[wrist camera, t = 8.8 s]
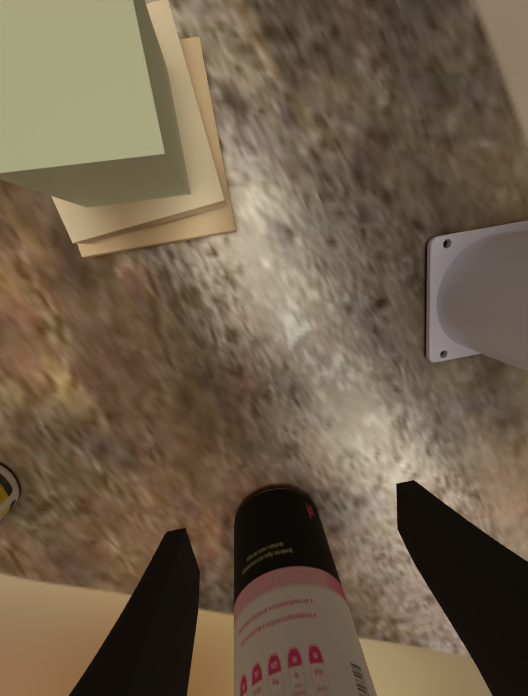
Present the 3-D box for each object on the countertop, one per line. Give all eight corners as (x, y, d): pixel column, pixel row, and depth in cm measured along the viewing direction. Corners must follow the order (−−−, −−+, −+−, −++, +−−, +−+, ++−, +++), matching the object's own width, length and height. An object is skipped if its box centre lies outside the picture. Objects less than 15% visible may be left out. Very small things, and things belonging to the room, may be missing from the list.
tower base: (203, 64, 15) (199, 36, 13) (235, 232, 17) (235, 229, 15) (43, 89, 15) (14, 64, 13) (99, 256, 17) (82, 257, 15)
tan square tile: (177, 36, 13) (167, -2, 11) (225, 207, 15) (224, 200, 13) (21, 79, 13) (-16, 48, 11) (93, 244, 15) (72, 243, 13)
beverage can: (325, 533, 24) (454, 933, 10) (250, 558, 24) (270, 991, 10) (304, 472, 22) (429, 867, 8) (222, 500, 22) (198, 940, 8)
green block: (167, 67, 12) (114, -87, 6) (191, 194, 13) (164, 153, 8) (48, 79, 11) (-109, -73, 6) (86, 207, 13) (-14, 174, 7)
